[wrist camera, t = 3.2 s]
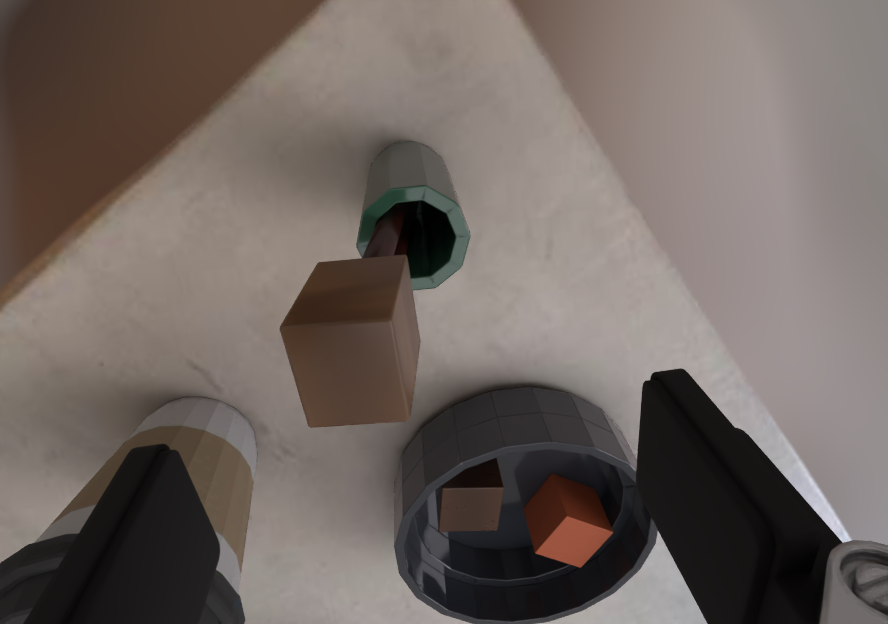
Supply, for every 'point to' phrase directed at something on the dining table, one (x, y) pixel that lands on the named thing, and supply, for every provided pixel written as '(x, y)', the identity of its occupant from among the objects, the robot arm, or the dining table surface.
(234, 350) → the dining table surface
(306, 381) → the wooden cube mallet
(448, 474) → the bowl
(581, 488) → the terracotta block
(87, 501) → the coffee cup
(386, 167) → the holder
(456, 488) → the walnut block
